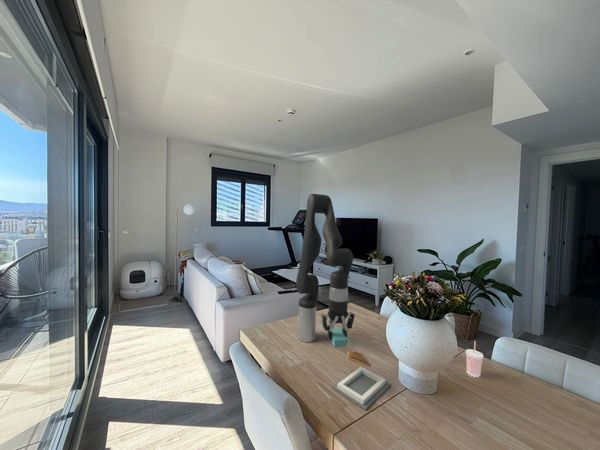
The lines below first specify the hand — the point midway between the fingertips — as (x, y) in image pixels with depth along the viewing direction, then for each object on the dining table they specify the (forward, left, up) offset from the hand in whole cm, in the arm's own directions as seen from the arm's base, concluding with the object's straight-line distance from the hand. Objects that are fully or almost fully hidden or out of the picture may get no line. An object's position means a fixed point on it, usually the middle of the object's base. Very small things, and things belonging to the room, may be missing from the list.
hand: (337, 338), depth 101 cm
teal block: (0, 0, -1) cm, 1 cm away
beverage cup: (+39, +43, -15) cm, 59 cm away
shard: (+1, +17, -15) cm, 23 cm away
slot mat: (+12, +1, -14) cm, 18 cm away
